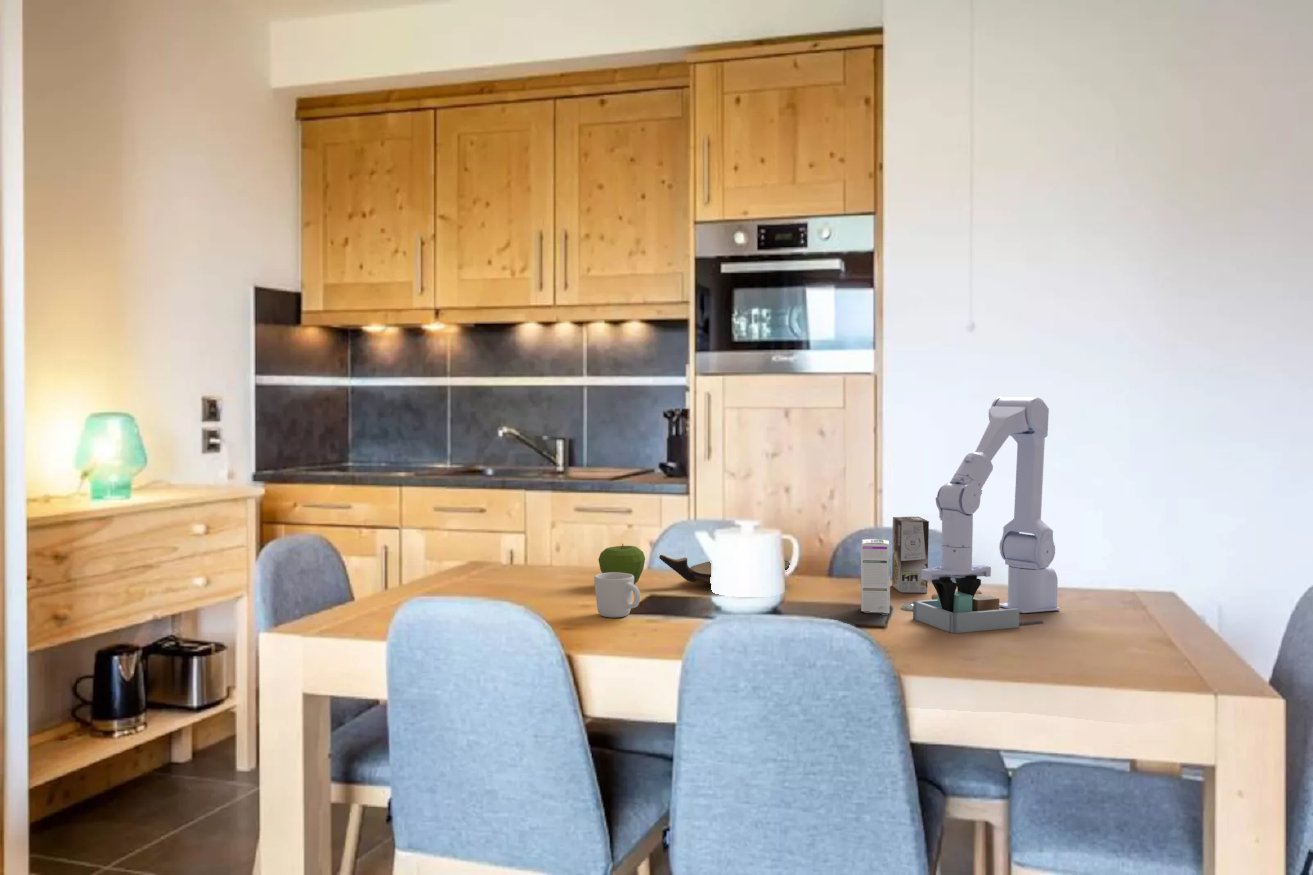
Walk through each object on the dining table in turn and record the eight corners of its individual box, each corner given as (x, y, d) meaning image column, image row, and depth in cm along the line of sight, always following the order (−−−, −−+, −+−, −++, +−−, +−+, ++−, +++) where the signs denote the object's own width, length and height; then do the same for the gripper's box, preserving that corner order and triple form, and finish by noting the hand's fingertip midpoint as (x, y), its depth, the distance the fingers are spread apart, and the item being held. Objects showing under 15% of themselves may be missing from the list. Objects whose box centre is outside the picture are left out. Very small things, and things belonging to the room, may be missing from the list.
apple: (624, 580, 250) (625, 538, 249) (655, 587, 242) (655, 543, 242) (588, 586, 242) (588, 543, 242) (618, 593, 235) (619, 548, 234)
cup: (652, 617, 211) (652, 577, 210) (624, 624, 205) (624, 582, 205) (614, 609, 218) (614, 570, 218) (585, 615, 212) (585, 575, 212)
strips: (1010, 612, 217) (1010, 610, 217) (1043, 623, 208) (1043, 620, 208) (985, 614, 215) (985, 612, 215) (1017, 625, 206) (1017, 623, 206)
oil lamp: (791, 597, 232) (791, 562, 232) (655, 592, 237) (655, 558, 237) (794, 578, 254) (795, 547, 254) (670, 574, 259) (670, 543, 259)
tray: (976, 613, 216) (976, 596, 216) (1018, 627, 204) (1019, 609, 204) (913, 618, 211) (913, 601, 211) (952, 633, 199) (952, 614, 198)
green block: (949, 619, 211) (950, 588, 210) (971, 626, 204) (972, 595, 204) (937, 620, 210) (937, 589, 209) (958, 627, 203) (959, 596, 203)
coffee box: (928, 593, 237) (929, 521, 236) (899, 593, 237) (900, 520, 236) (919, 585, 246) (920, 516, 245) (891, 585, 246) (892, 515, 245)
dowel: (977, 599, 231) (977, 588, 231) (984, 601, 229) (984, 590, 229) (928, 603, 227) (929, 592, 227) (935, 605, 225) (935, 594, 225)
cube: (982, 618, 212) (983, 593, 211) (998, 624, 207) (999, 598, 207) (961, 620, 210) (962, 595, 210) (977, 626, 205) (977, 600, 205)
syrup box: (889, 615, 214) (890, 543, 214) (859, 613, 215) (860, 542, 215) (889, 609, 220) (890, 539, 219) (860, 607, 221) (861, 538, 220)
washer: (915, 607, 224) (915, 601, 223) (927, 611, 219) (927, 605, 219) (897, 608, 222) (897, 602, 222) (909, 612, 218) (909, 606, 218)
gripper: (975, 540, 212) (974, 608, 213) (912, 544, 207) (911, 613, 208) (998, 545, 205) (996, 615, 206) (934, 549, 200) (932, 621, 201)
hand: (955, 615), depth 206 cm, fingers closed on green block, 3 cm apart
